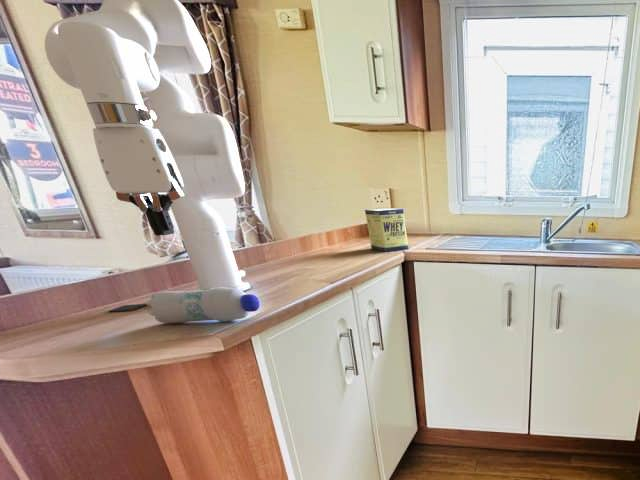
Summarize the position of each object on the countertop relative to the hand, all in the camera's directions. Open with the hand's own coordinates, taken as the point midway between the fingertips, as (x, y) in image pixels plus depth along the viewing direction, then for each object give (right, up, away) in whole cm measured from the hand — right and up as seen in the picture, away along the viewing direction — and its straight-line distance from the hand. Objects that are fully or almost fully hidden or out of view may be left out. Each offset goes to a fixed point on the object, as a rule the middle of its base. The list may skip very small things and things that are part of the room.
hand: (165, 234), depth 79 cm
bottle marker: (-24, -11, +19) cm, 32 cm away
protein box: (+13, +29, +100) cm, 105 cm away
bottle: (-6, -13, +5) cm, 15 cm away
